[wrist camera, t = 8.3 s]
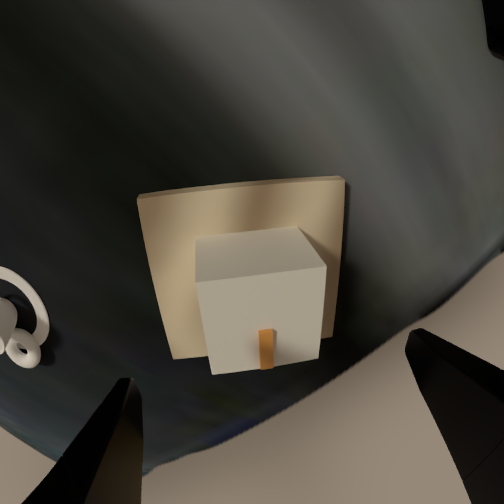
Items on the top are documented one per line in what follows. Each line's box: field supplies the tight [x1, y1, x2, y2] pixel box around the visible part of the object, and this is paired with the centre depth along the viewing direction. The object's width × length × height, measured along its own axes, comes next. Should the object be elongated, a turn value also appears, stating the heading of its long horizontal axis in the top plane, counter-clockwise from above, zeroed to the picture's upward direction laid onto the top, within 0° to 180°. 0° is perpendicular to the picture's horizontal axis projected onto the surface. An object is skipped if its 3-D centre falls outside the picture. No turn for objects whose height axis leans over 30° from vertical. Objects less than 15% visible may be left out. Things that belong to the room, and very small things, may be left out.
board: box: [137, 176, 345, 359], centre depth 20 cm, size 12×12×4 cm
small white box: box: [195, 226, 327, 375], centre depth 18 cm, size 6×6×5 cm
